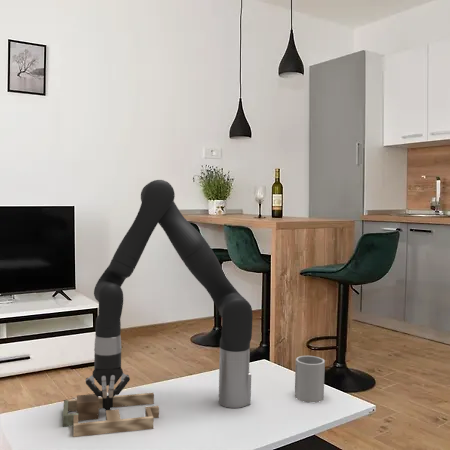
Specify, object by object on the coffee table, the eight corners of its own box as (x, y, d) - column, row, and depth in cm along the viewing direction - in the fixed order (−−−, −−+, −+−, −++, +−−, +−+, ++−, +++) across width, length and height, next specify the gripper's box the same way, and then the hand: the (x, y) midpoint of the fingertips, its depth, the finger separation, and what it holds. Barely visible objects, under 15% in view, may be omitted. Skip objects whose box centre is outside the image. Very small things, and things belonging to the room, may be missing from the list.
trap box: (153, 402, 161) (153, 392, 161) (162, 427, 143) (162, 417, 143) (63, 410, 153) (63, 400, 153) (62, 437, 136) (62, 426, 136)
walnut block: (98, 410, 154) (98, 393, 153) (98, 419, 148) (98, 401, 148) (76, 412, 152) (76, 395, 152) (76, 420, 146) (76, 403, 146)
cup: (329, 398, 167) (330, 361, 166) (308, 404, 161) (309, 366, 161) (309, 389, 174) (310, 354, 173) (288, 395, 169) (289, 358, 168)
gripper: (130, 345, 156) (129, 402, 157) (83, 348, 152) (83, 406, 153) (132, 352, 149) (132, 412, 150) (84, 355, 145) (84, 417, 146)
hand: (107, 409), depth 151 cm, fingers closed
